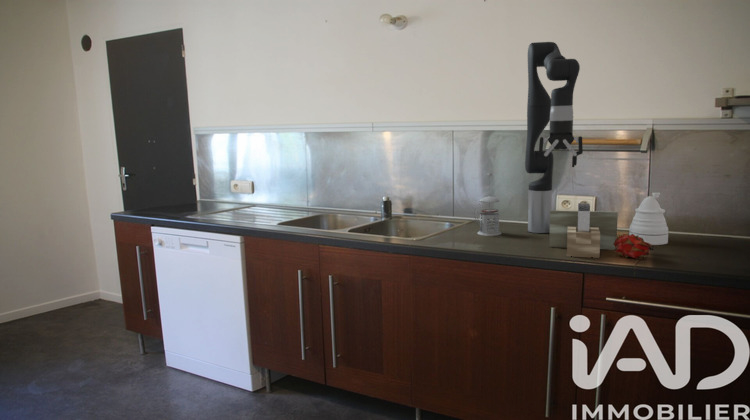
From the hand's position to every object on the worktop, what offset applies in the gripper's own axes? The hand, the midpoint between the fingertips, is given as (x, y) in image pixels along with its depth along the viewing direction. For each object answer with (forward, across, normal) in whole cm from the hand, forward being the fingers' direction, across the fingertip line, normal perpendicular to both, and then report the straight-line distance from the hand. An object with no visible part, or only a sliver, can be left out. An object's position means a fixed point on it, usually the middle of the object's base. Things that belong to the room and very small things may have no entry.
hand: (560, 167), depth 187 cm
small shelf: (+29, -8, +5) cm, 30 cm away
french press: (+30, +27, -23) cm, 47 cm away
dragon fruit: (+29, -23, +10) cm, 38 cm away
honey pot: (+29, -32, -19) cm, 47 cm away
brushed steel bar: (+24, -8, +7) cm, 26 cm away
